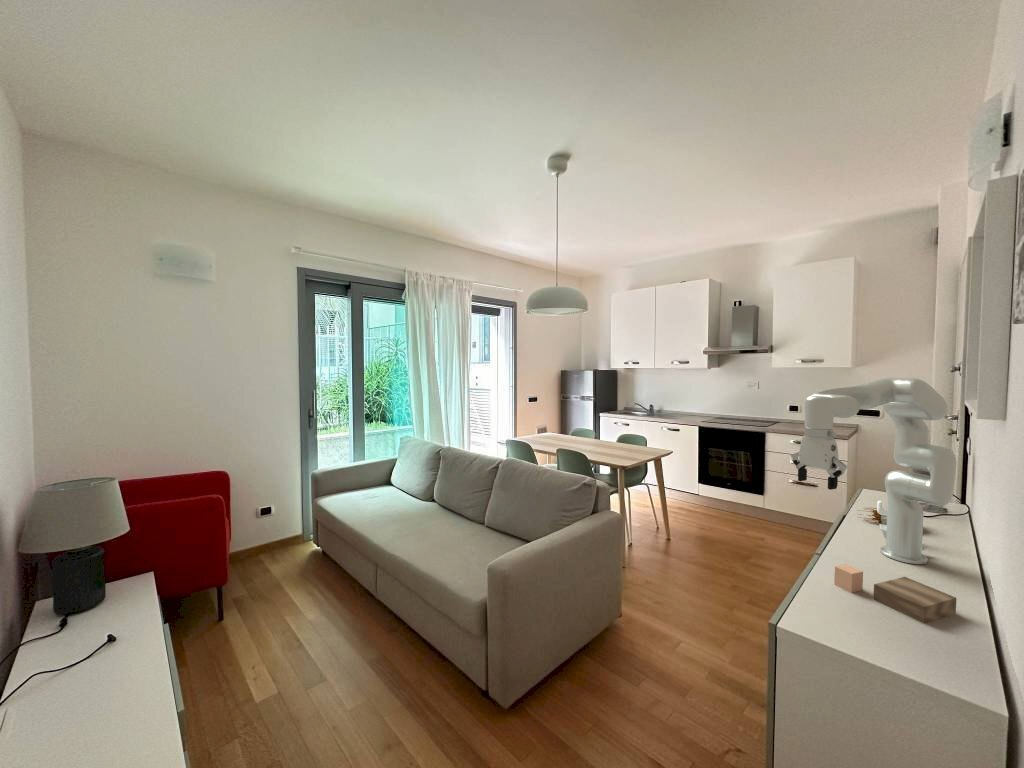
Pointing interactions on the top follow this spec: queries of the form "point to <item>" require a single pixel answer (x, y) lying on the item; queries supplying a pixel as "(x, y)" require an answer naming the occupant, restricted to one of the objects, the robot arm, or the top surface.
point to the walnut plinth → (915, 599)
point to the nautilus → (876, 516)
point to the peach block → (848, 578)
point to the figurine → (883, 512)
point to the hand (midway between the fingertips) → (816, 484)
